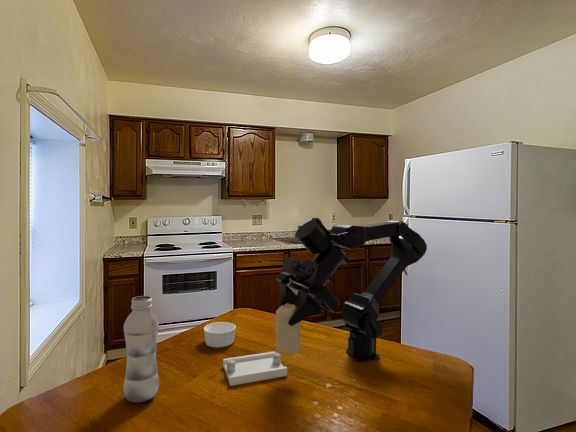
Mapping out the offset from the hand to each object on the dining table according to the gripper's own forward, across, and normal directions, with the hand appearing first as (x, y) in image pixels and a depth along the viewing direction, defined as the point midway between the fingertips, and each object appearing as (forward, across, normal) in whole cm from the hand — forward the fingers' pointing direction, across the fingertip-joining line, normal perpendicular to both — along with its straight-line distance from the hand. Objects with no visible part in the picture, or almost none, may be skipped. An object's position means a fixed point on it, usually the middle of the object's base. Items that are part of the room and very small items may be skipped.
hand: (282, 320), depth 73 cm
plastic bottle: (+29, -7, -11) cm, 32 cm away
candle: (+4, 0, +6) cm, 7 cm away
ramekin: (+14, -26, +5) cm, 30 cm away
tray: (+12, -6, +6) cm, 15 cm away
